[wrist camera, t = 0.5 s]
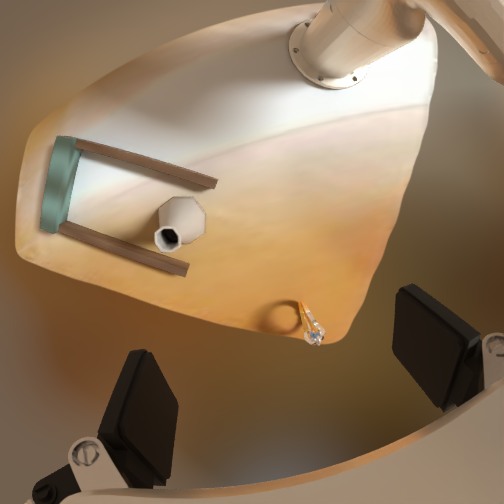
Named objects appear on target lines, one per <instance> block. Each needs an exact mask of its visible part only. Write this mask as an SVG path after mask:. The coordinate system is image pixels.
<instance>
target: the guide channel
mask: <svg viewBox="0 0 504 504" xmlns="http://www.w3.org/2000/svg"><path fill="white" fill-rule="evenodd" d="M82 149H83V150H87V151H91V152H94V153H98V154H102V155H105V156H109V157H113V158H116V159H120V160H123V161H126V162H130V163H133V164H137V165H140V166H143V167H147V168H150V169H153V170H157V171H160V172H163V173H166V174H169V175H173V176H176V177H179V178H182V179H185V180H188V181H191V182H194V183H197V184H200V185H203V186H206V187H209V188H212V189H215V186H216V184H217V181H218V179H216V178H213V177H210V176H207V175H204V174H201V173H198V172H195V171H192V170H189V169H185V168H182V167H179V166H176V165H173V164H170V163H166V162H163V161H160V160H156V159H153V158H150V157H146V156H143V155H139V154H136V153H132V152H129V151H125V150H122V149H118V148H114V147H110V146H107V145H103V144H99V143H95V142H91V141H87V140H83V139H79V138H75V137H71V136H57V137H56V141H55V145H54V148H53V153H52V157H51V161H50V166H49V170H48V175H47V180H46V186H45V192H44V198H43V205H42V212H41V221H40V229H43V230H45V231H47V232H50V233H52V234H54V233H56V232H61V233H63V234H66V235H69V236H71V237H74V238H76V239H79V240H81V241H84V242H87V243H89V244H92V245H94V246H97V247H100V248H102V249H105V250H108V251H111V252H113V253H116V254H119V255H121V256H124V257H127V258H130V259H133V260H135V261H138V262H141V263H144V264H147V265H150V266H153V267H156V268H159V269H161V270H164V271H167V272H170V273H173V274H176V275H179V276H182V277H186V274H187V271H188V268H189V263H186V262H183V261H180V260H177V259H174V258H171V257H168V256H165V255H162V254H159V253H156V252H153V251H150V250H147V249H144V248H142V247H139V246H136V245H133V244H130V243H127V242H124V241H122V240H119V239H116V238H113V237H110V236H108V235H105V234H102V233H99V232H97V231H94V230H91V229H88V228H86V227H83V226H80V225H78V224H75V223H72V222H70V221H67V216H68V210H69V204H70V199H71V194H72V189H73V184H74V179H75V175H76V170H77V166H78V162H79V158H80V155H81V151H82Z"/></svg>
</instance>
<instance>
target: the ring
mask: <svg viewBox="0 0 504 504" xmlns="http://www.w3.org/2000/svg"><path fill="white" fill-rule="evenodd" d="M298 304H299V311H300V316H301V321H302V325H303V329H304V338H305V340H306V341H307V342H308V343H310V344H312V345H315V344H317V345H320V343H319V342H321V340H323V339H324V335H325V334H326V332H325V330H324V329H323V328H322V327H321V326H320V325H319V324H318V323H317V321H316V320H315V319H314V317H313V316H312V314H311V313H310V311H309V309H308V307H307V305H306V304H305V302H304V301H303V302H299V303H298ZM310 321H311V322H312V324H313V325H314V326H315V327H316V328H317V329H318V330H317V331H315V329H314V328H313V326H312V324H311V322H310ZM308 333H310V337H311V338H310V337H309V335H308Z"/></svg>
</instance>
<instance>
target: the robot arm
mask: <svg viewBox="0 0 504 504" xmlns="http://www.w3.org/2000/svg"><path fill="white" fill-rule="evenodd" d="M426 13H427V14H428V15H430V16H431V17H432V18H433V19H434V20H435V21H436V22H438V23H439V24H440V25H442V26H443V27H444V28H445V29H446V30H447V31H448V32H449V33H450V34H451V35H452V36H453V37H454V38H455V39H456V41H457V42H458V43H459V44H460V45H461V46H462V47H463V48H464V49H465V50H466V52H467V53H468V54H469V55H470V56H471V57H472V58H473V59H474V61H475V62H476V63H477V64H478V65H479V66H480V67H481V69H482V70H483V71H484V72H485V73H486V74H487V75H488V76H489V77H490V78H491V79H493V80H494V81H496V82H497V83H499V84H501V85H504V0H327V1H326V3H325V4H324V5H323V7H322V8H321V10H320V11H319V13H318V14H317V16H316V17H315V18H314V19H310V20H306V21H304V22H302V23H301V24H299V25H298V26H297V27H296V28H295V29H294V31H293V32H292V34H291V37H290V39H289V53H290V56H291V59H292V61H293V63H294V65H295V66H296V67H297V69H298V70H299V71H300V72H301V73H302V74H303V75H304V76H305V77H306V78H308V79H309V80H310V81H312V82H314V83H316V84H318V85H320V86H323V87H326V88H331V89H344V88H349V87H351V86H353V85H355V84H357V83H359V82H360V81H361V80H362V79H363V78H364V77H365V75H366V73H367V71H368V68H369V64H371V63H373V62H374V61H376V60H378V59H380V58H382V57H383V56H385V55H387V54H389V53H391V52H393V51H395V50H396V49H398V48H400V47H402V46H404V45H406V44H408V43H410V42H411V41H413V40H414V39H416V38H417V37H418V36H419V35H420V33H421V31H422V30H423V27H424V24H425V18H426ZM306 26H307V27H306ZM294 51H295V52H296V53H295V52H294ZM318 79H320V81H319V80H318ZM353 80H354V81H353ZM480 335H481V334H480V333H479V332H478V331H476V330H475V329H474V328H473V327H471V326H470V325H469V324H468V323H466V322H465V321H464V320H462V319H461V318H460V317H459V316H457V315H456V314H454V313H453V312H452V311H451V310H449V309H448V308H447V307H445V306H444V305H443V304H441V303H440V302H439V301H437V300H436V299H435V298H433V297H432V296H430V295H429V294H428V293H426V292H425V291H423V290H422V289H421V288H419V287H418V286H416V285H415V284H409V285H407V286H404V287H401V288H400V289H399V292H398V293H397V294H396V301H395V320H394V333H393V344H392V350H393V353H394V355H395V356H396V357H397V359H398V360H399V361H400V362H401V363H402V365H403V366H404V367H405V368H406V370H407V371H408V372H409V373H410V375H411V376H412V377H413V378H414V379H415V381H416V382H417V383H418V385H419V386H420V387H421V388H422V390H423V391H424V392H425V394H426V395H427V396H428V397H429V399H430V400H431V401H432V402H433V404H434V405H435V406H436V407H438V408H439V407H440V408H441V409H442V410H443V412H446V411H447V410H449V409H450V408H452V407H453V406H455V405H456V406H457V407H458V408H456V409H455V410H453V411H452V412H450V413H448V414H446V415H445V416H443V417H441V418H440V419H438V420H436V421H435V422H433V423H431V424H429V425H427V426H426V427H424V428H422V429H420V430H418V431H416V432H414V433H412V434H410V435H408V436H406V437H404V438H402V439H400V440H398V441H396V442H394V443H392V444H389V445H387V446H385V447H382V448H380V449H378V450H375V451H373V452H370V453H368V454H365V455H363V456H360V457H357V458H355V459H352V460H349V461H346V462H343V463H340V464H337V465H334V466H331V467H327V468H324V469H320V470H317V471H313V472H309V473H306V474H301V475H297V476H293V477H288V478H284V479H279V480H274V481H268V482H262V483H256V484H250V485H242V486H234V487H223V488H209V489H185V490H184V489H183V490H182V489H180V490H168V489H167V490H165V489H153V485H156V486H166V479H169V478H170V476H171V467H172V456H173V448H174V440H175V431H176V423H177V416H178V402H177V399H176V398H175V396H174V394H173V392H172V391H171V389H170V387H169V385H168V384H167V381H166V380H165V378H164V376H163V374H162V372H161V370H160V368H159V366H158V364H157V362H156V360H155V358H154V356H153V354H152V353H151V352H147V350H145V349H140V350H133V351H130V353H129V355H128V357H127V359H126V362H125V364H124V366H123V369H122V371H121V374H120V376H119V378H118V381H117V383H116V386H115V388H114V391H113V393H112V395H111V398H110V401H109V403H108V406H107V408H106V411H105V413H104V416H103V419H102V422H101V424H100V427H99V430H98V433H99V434H98V437H97V439H96V438H94V437H85V438H82V439H79V440H78V441H76V442H75V443H74V444H73V445H72V446H71V448H70V450H69V454H68V459H69V464H67V465H66V466H64V467H62V468H61V469H59V470H57V471H56V472H54V473H52V474H50V475H48V476H47V477H45V478H43V479H41V480H40V481H38V482H37V483H36V485H35V486H34V488H33V491H32V497H33V501H31V500H30V499H29V500H28V501H27V502H26V503H25V504H504V334H502V333H492V334H489V335H488V336H486V337H485V338H484V339H483V341H481V340H480Z"/></svg>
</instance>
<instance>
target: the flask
mask: <svg viewBox="0 0 504 504" xmlns="http://www.w3.org/2000/svg"><path fill="white" fill-rule="evenodd" d="M205 219H206V213H205V212H204V210H203V209H202V208H201V206H200V205H199V203H198V202H197V201H196V199H195V198H194V197H173V198H172V199H170V200H169V201H168V202H166V203H165V204H164V205H162V206H161V207H160V208H159V229H158V230H157V231H155V232H154V243H155V245H156V246H157V248H158V249H159V250H160V251H161V253H173V252H174V251H175V250H177V249H178V248H180V247H181V244H190V243H192V242H193V241H194V240H196V239H197V238H199V237H200V236H201V235H203V234H204V233H205Z"/></svg>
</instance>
